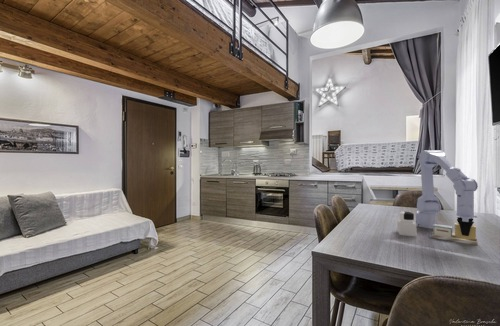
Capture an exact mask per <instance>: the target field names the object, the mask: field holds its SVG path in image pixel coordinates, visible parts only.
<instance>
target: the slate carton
mask: <svg viewBox="0 0 500 326" xmlns="http://www.w3.org/2000/svg"><path fill="white" fill-rule="evenodd" d="M452 232H453V226H452V225H446V224H434V225H433V229H432V235H438V236H444V237H450V238H452Z"/></svg>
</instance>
